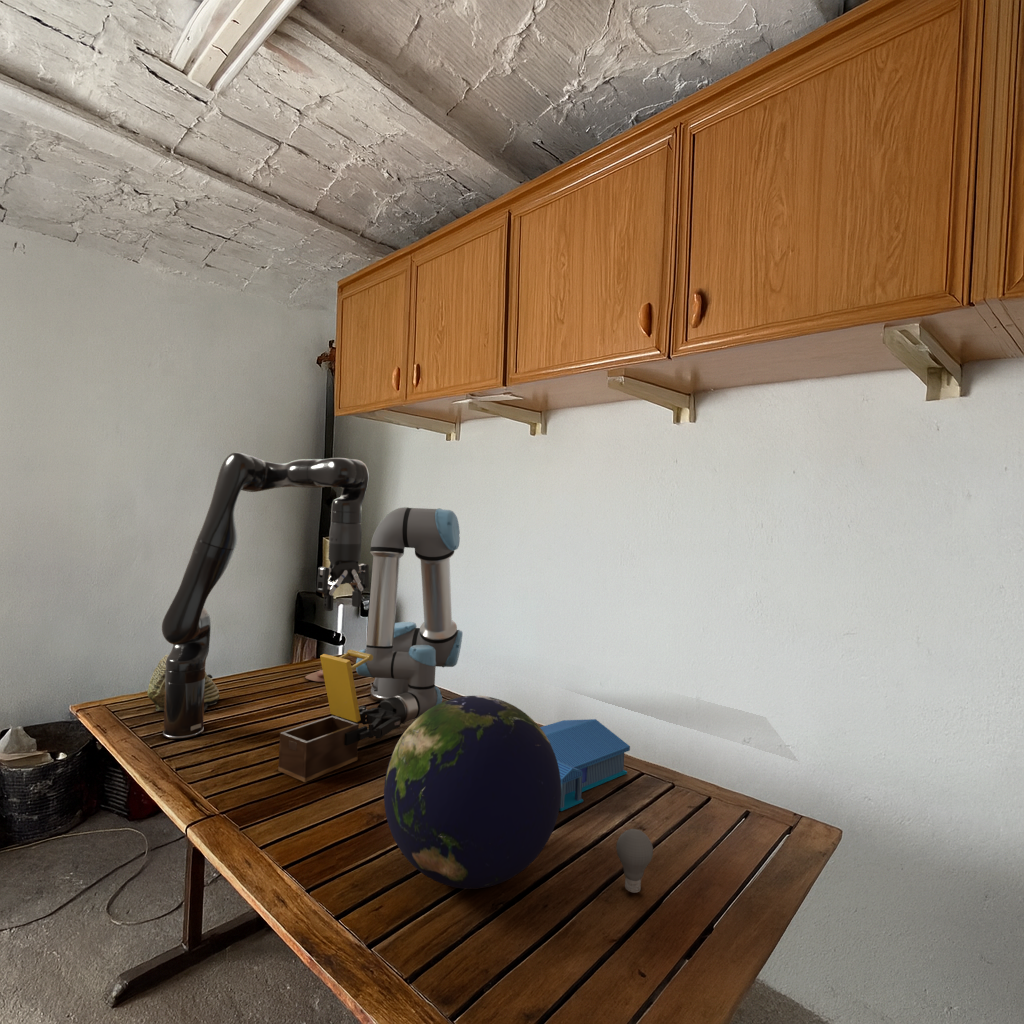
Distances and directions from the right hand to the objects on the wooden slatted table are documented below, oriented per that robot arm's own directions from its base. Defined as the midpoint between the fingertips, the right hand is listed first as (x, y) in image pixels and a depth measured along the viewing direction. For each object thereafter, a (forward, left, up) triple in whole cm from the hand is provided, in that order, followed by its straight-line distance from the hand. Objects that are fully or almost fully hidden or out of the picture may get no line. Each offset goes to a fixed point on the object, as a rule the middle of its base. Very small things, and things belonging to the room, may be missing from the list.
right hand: (331, 734), depth 152 cm
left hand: (-2, +1, +30) cm, 30 cm away
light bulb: (+37, +70, -6) cm, 79 cm away
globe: (+38, +42, -6) cm, 57 cm away
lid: (-1, +1, +11) cm, 11 cm away
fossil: (-25, -57, -6) cm, 62 cm away
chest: (+3, -1, -6) cm, 7 cm away
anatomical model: (-64, -30, -6) cm, 71 cm away
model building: (-1, +51, -6) cm, 52 cm away
